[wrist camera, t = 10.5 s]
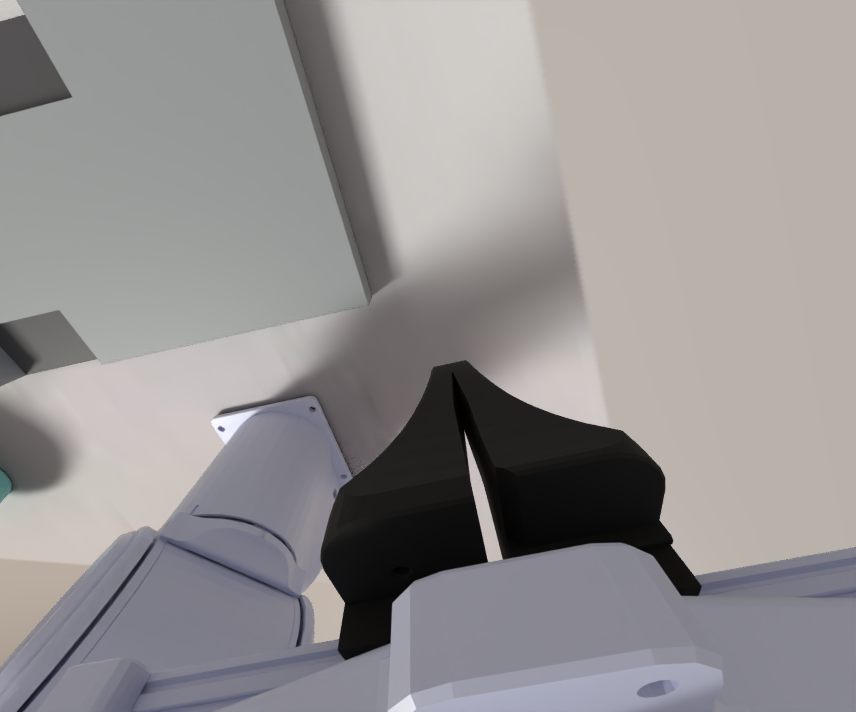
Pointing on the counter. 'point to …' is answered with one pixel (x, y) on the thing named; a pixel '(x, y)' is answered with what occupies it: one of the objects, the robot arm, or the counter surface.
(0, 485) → the cupcake
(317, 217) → the track
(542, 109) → the counter surface
